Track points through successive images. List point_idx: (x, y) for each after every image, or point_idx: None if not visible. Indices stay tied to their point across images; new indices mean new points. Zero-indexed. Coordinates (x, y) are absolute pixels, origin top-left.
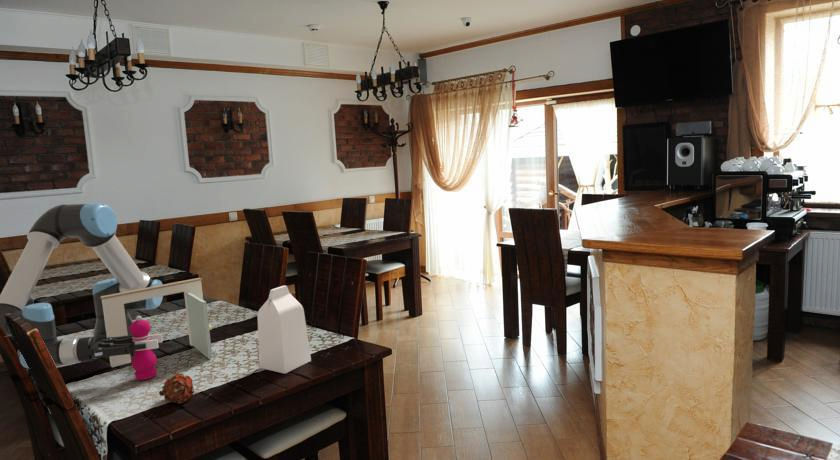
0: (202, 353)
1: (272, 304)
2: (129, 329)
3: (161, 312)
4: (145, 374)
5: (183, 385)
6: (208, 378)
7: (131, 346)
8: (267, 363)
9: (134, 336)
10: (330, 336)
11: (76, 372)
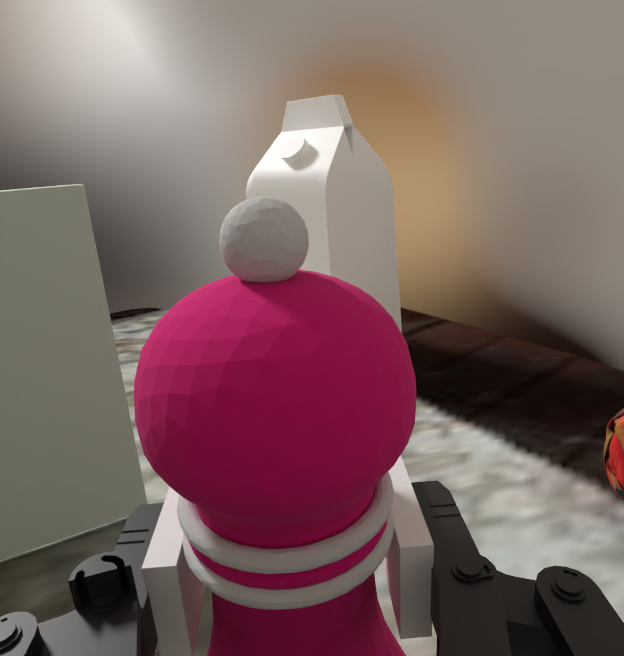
0: (21, 552)
1: (362, 142)
2: (333, 442)
3: None
4: None
5: None
6: (409, 473)
7: (511, 581)
8: None
9: (362, 500)
10: (152, 321)
11: None
